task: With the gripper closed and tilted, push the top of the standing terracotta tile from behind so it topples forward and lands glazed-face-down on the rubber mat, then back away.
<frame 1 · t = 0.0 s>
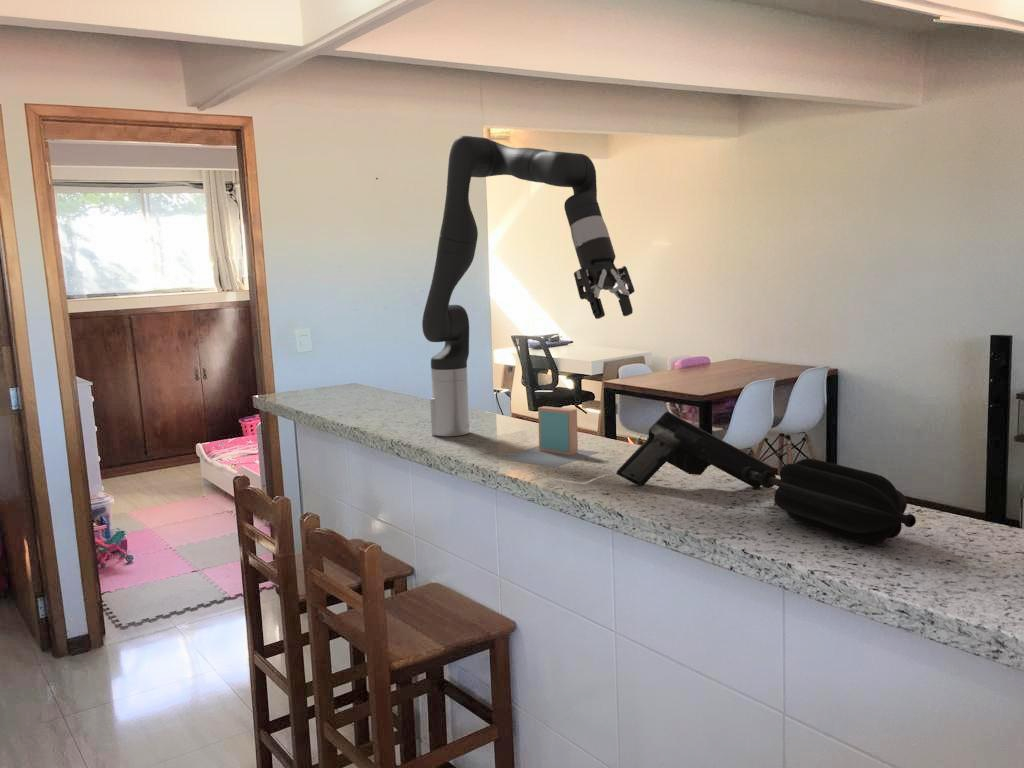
hand: (614, 316, 172), 31 cm above the worktop, tool tilted 20°, fingers open, 8 cm apart
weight: (819, 526, 133), on the worktop
tile: (558, 451, 190), resting on mat
handgun: (692, 488, 158), on the worktop
mat: (548, 456, 187), on the worktop
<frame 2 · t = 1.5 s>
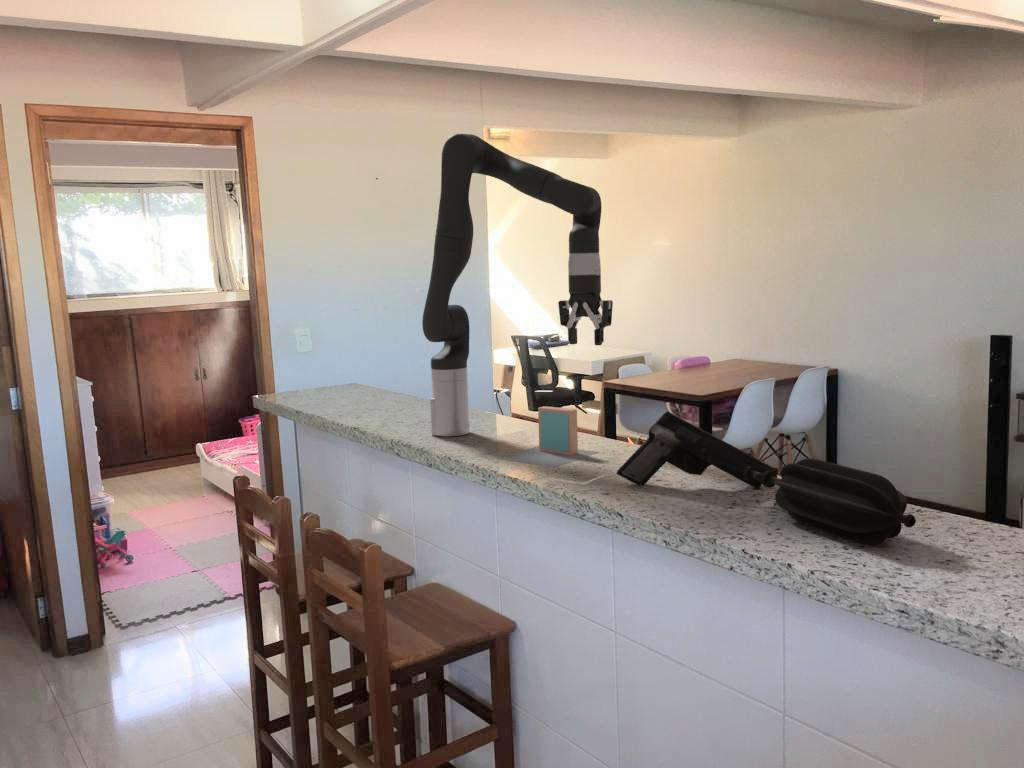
hand: (585, 344, 198), 24 cm above the worktop, tool pointing down, fingers open, 6 cm apart
nothing on the worktop moved.
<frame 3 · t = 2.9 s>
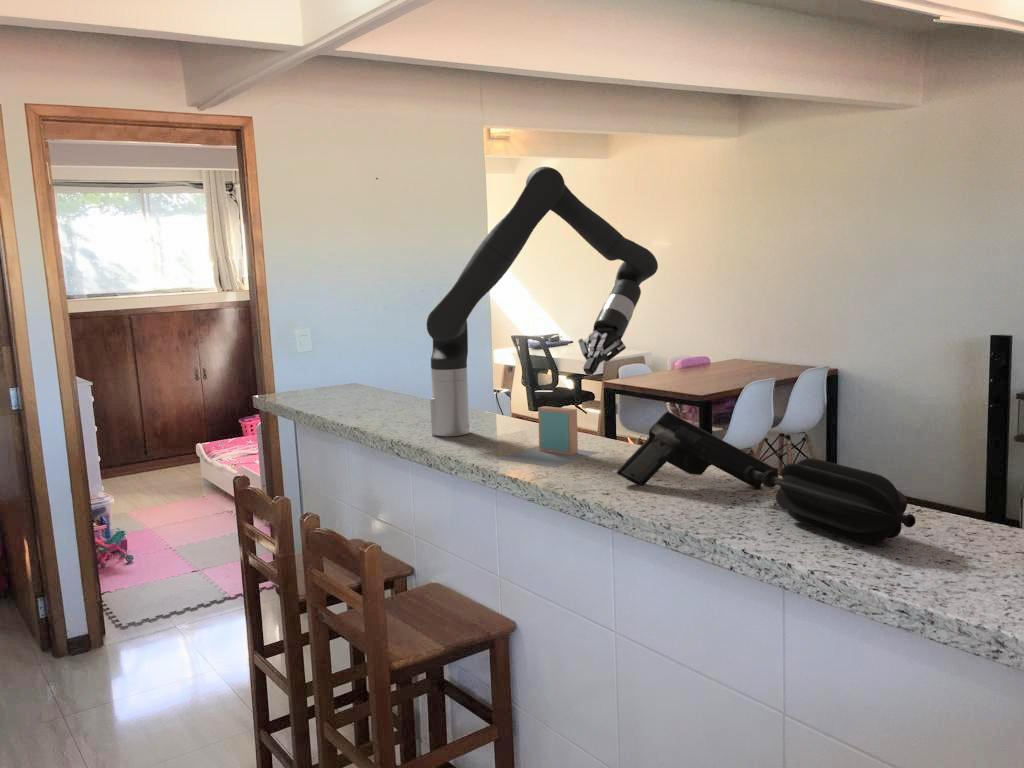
hand: (587, 372, 198), 17 cm above the worktop, tool tilted 45°, fingers closed
nothing on the worktop moved.
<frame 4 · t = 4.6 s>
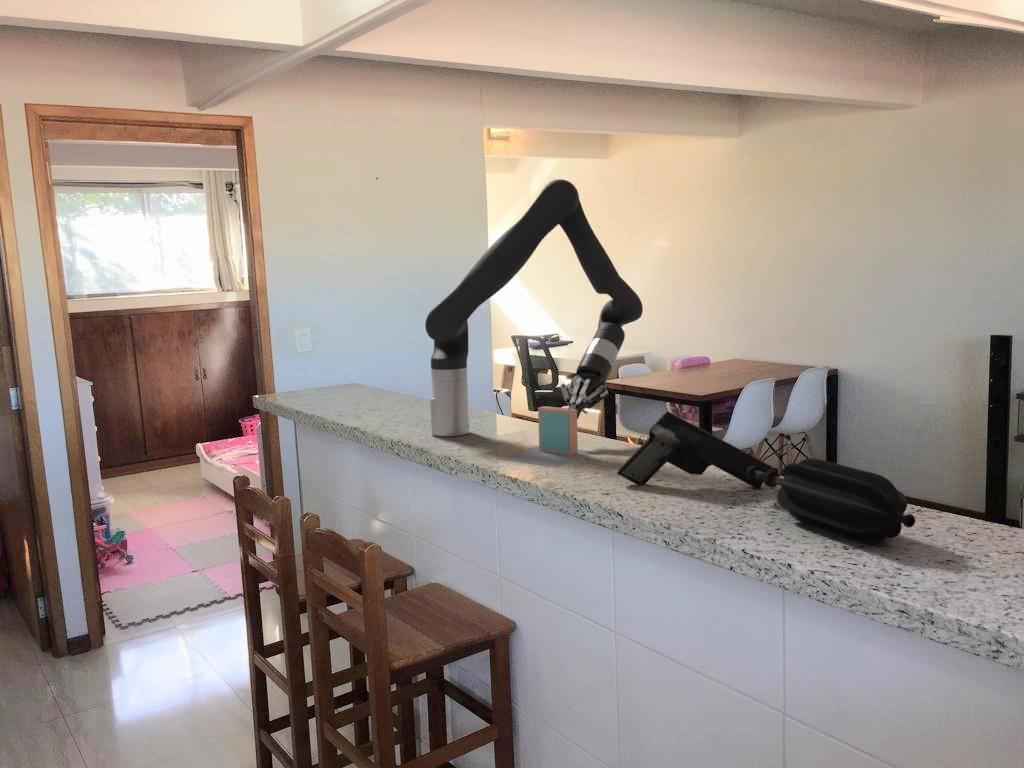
hand: (570, 420, 193), 7 cm above the worktop, tool tilted 45°, fingers closed
nothing on the worktop moved.
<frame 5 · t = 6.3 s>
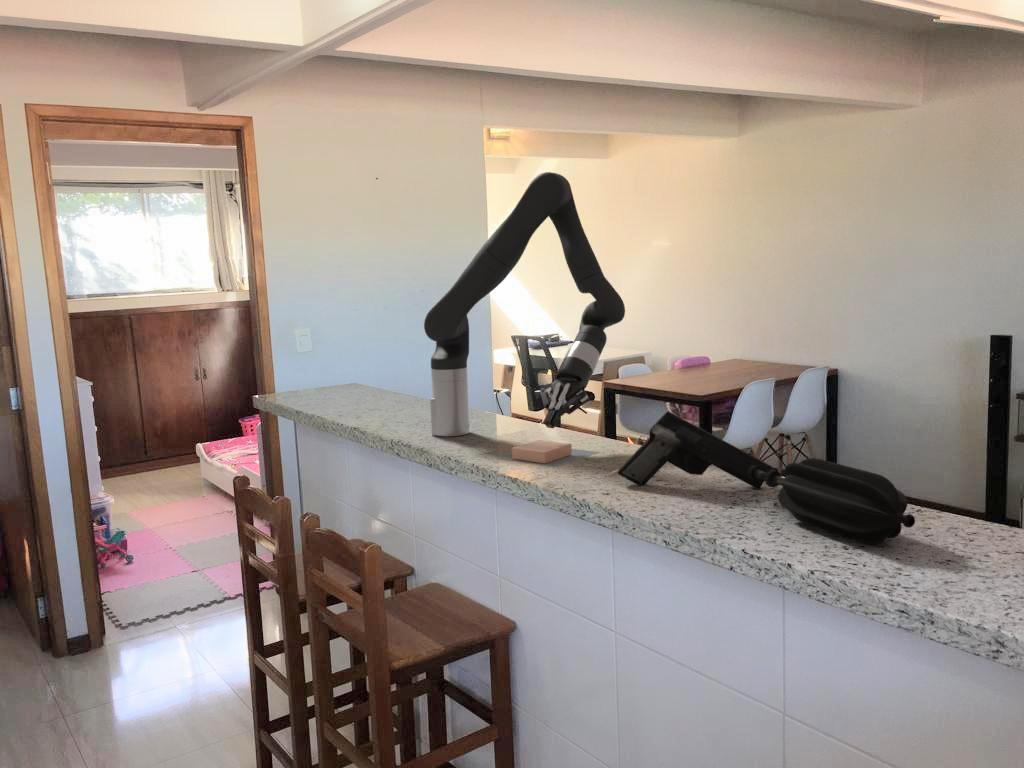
hand: (548, 426, 187), 7 cm above the worktop, tool tilted 45°, fingers closed
tile: (554, 447, 189), point 2 cm above the worktop, tilted 90°, touching mat
everything else where it was.
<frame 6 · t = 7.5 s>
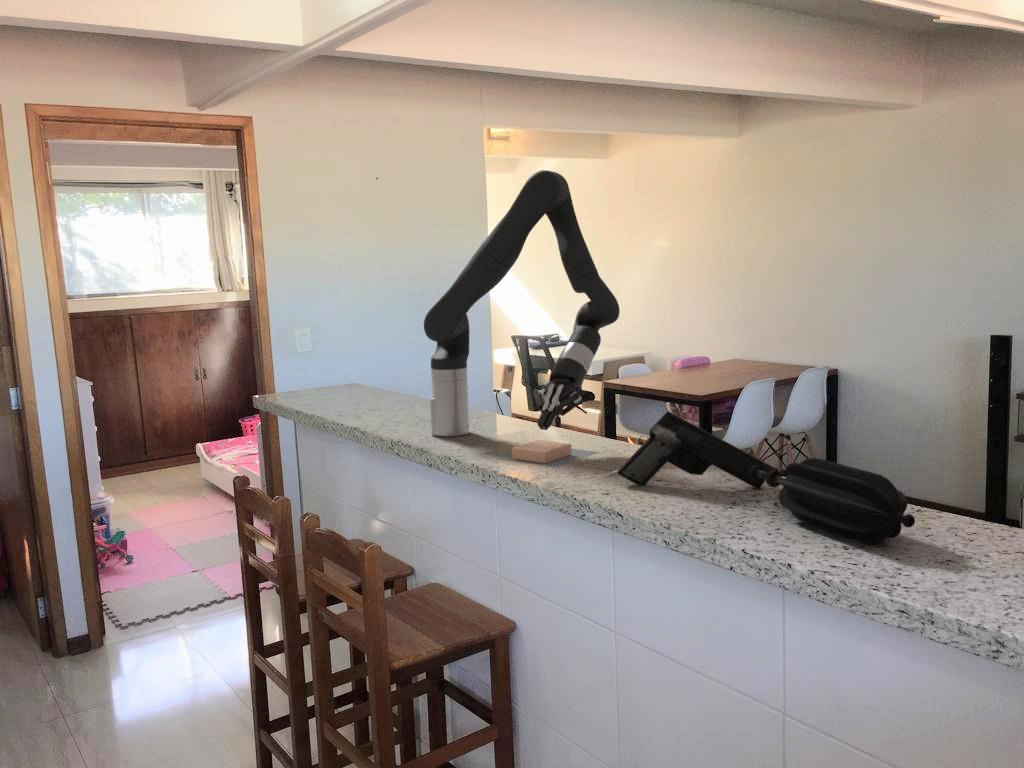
hand: (542, 427, 185), 7 cm above the worktop, tool tilted 45°, fingers closed
nothing on the worktop moved.
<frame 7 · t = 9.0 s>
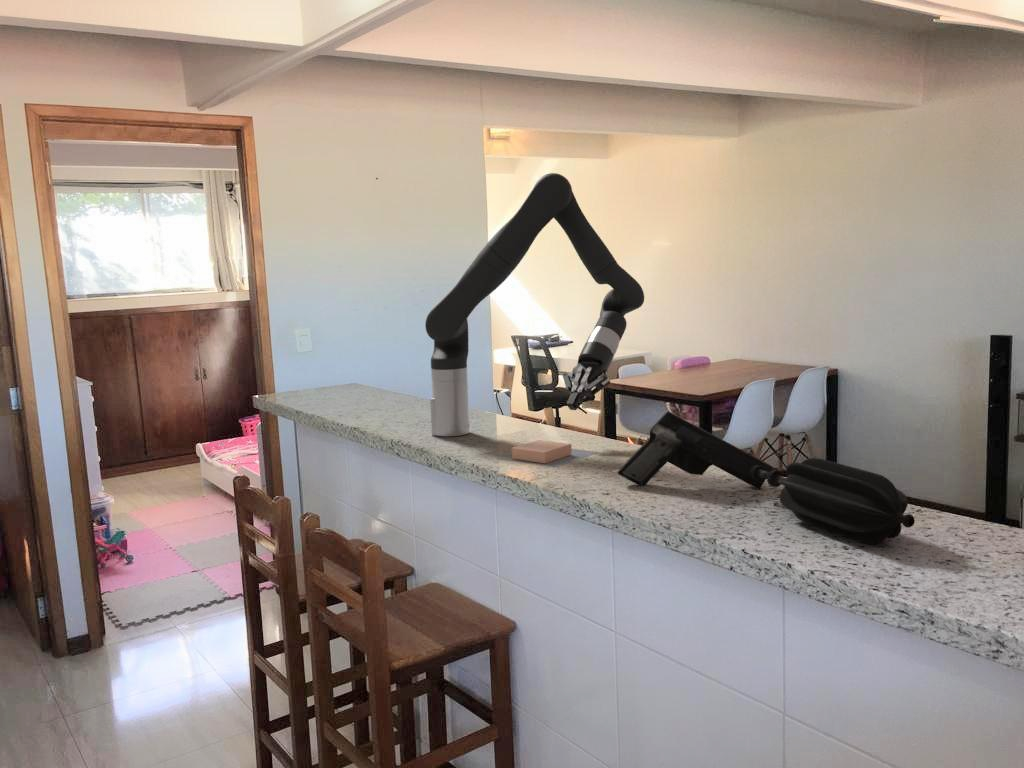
hand: (571, 407, 193), 10 cm above the worktop, tool tilted 45°, fingers closed
nothing on the worktop moved.
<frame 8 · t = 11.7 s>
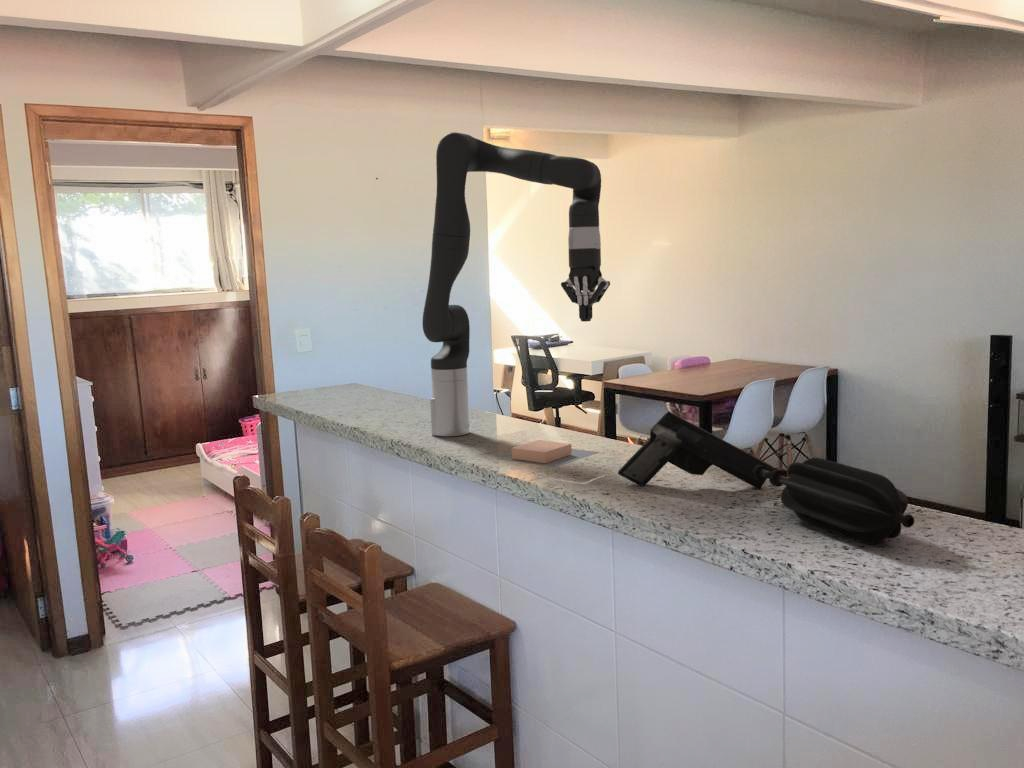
hand: (585, 321, 199), 29 cm above the worktop, tool pointing down, fingers closed
at the end: tile tilted 90°; tile 2.8 cm from the mat (horizontally); tile point 1.6 cm above the worktop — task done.
